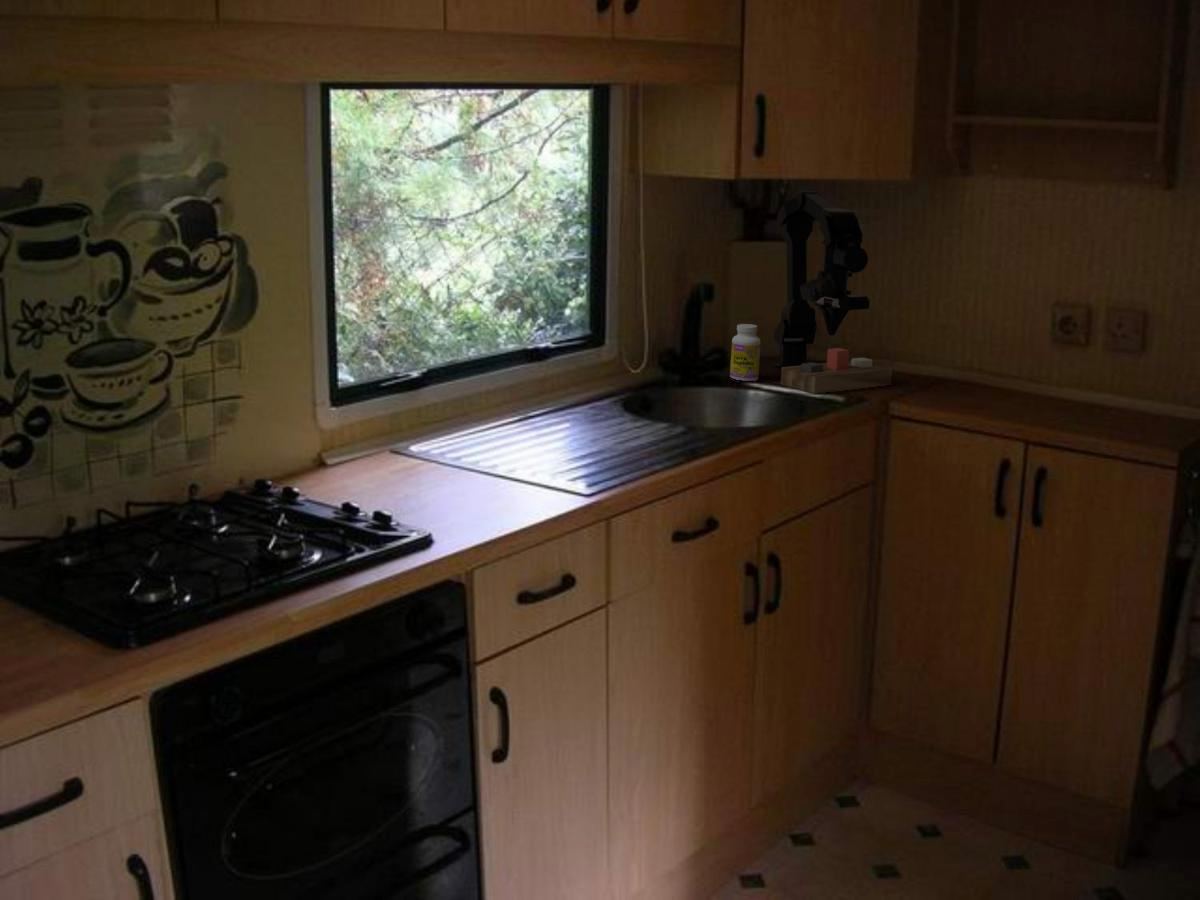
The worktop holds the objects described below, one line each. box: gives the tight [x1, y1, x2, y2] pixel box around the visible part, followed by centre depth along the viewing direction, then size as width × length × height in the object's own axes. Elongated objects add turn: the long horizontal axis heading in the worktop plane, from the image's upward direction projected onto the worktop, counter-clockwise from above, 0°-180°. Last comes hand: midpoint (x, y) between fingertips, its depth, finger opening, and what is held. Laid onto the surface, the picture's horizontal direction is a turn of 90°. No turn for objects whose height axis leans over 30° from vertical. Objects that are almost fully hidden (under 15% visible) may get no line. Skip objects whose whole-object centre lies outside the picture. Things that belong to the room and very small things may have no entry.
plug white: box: [851, 357, 873, 368], centre depth 319 cm, size 3×3×5 cm
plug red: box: [826, 347, 850, 370], centre depth 315 cm, size 3×3×5 cm
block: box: [780, 359, 893, 395], centre depth 316 cm, size 12×23×4 cm, turn 121°
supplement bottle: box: [729, 323, 762, 382], centre depth 318 cm, size 7×7×13 cm
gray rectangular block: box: [801, 362, 823, 373], centre depth 312 cm, size 3×3×5 cm
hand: (831, 335), depth 312 cm, fingers closed
